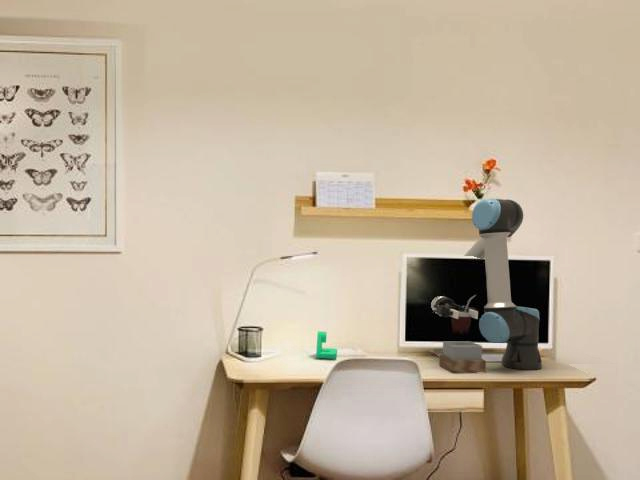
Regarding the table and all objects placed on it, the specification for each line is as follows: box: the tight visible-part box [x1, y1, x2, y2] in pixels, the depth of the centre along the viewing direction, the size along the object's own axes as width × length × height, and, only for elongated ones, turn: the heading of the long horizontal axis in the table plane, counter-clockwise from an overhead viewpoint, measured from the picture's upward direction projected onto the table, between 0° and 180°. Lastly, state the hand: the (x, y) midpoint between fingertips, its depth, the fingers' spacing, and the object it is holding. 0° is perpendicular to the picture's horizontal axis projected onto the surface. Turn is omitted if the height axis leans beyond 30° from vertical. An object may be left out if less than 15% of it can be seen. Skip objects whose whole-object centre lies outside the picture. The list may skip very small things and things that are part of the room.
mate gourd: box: [451, 294, 477, 335], centre depth 291 cm, size 8×8×15 cm
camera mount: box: [315, 330, 338, 360], centre depth 306 cm, size 12×8×10 cm, turn 176°
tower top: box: [442, 340, 483, 360], centre depth 292 cm, size 11×11×5 cm
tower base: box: [438, 353, 487, 374], centre depth 291 cm, size 13×13×5 cm
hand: (467, 315), depth 286 cm, fingers closed on mate gourd, 7 cm apart
